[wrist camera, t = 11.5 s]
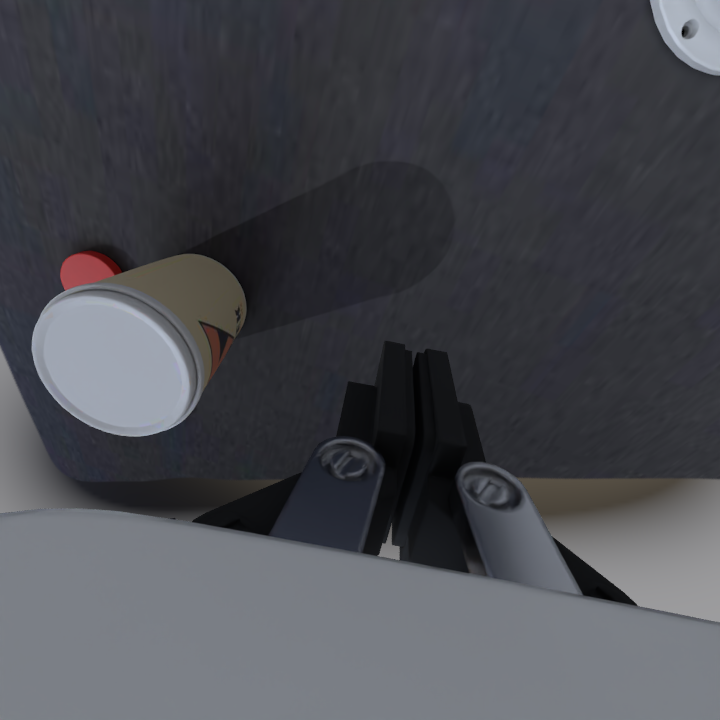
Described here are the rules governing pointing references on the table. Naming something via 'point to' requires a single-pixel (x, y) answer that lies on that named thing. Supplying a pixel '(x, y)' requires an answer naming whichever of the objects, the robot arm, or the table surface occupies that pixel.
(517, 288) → the table surface
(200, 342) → the coffee cup
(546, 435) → the table surface
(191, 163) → the table surface
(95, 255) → the spoon
